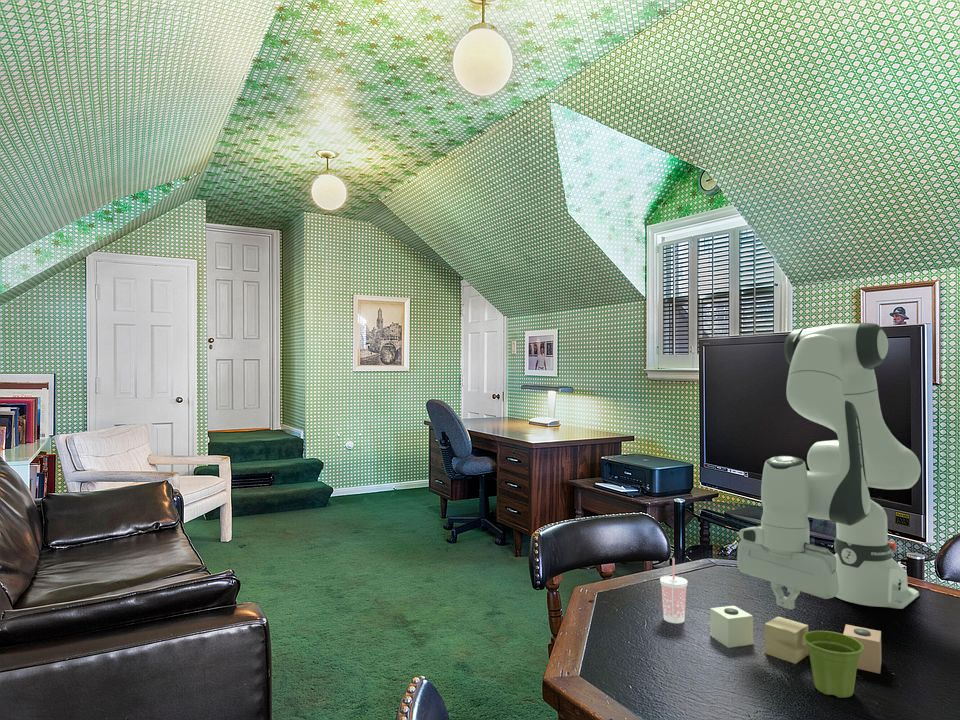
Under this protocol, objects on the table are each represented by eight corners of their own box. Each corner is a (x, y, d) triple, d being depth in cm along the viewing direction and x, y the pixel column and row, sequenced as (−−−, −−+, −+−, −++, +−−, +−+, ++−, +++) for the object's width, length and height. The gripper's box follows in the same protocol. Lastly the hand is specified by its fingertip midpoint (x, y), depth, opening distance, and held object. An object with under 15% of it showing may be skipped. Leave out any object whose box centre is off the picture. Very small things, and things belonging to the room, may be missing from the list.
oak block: (778, 645, 131) (778, 616, 131) (808, 655, 126) (808, 625, 126) (764, 653, 127) (764, 623, 127) (795, 664, 122) (795, 633, 122)
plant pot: (834, 707, 106) (833, 655, 107) (791, 681, 115) (791, 633, 116) (877, 699, 109) (876, 648, 109) (832, 674, 118) (832, 627, 118)
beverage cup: (689, 616, 146) (689, 556, 146) (686, 626, 140) (685, 563, 140) (662, 612, 148) (661, 553, 149) (658, 621, 143) (657, 560, 143)
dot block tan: (846, 654, 127) (845, 622, 127) (881, 662, 123) (881, 629, 123) (843, 665, 122) (843, 632, 122) (880, 674, 118) (879, 640, 118)
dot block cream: (734, 633, 137) (734, 604, 137) (753, 644, 131) (752, 614, 131) (710, 636, 135) (710, 606, 135) (728, 648, 129) (728, 617, 130)
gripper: (845, 548, 120) (846, 621, 119) (751, 525, 137) (751, 589, 137) (826, 552, 116) (826, 628, 116) (732, 529, 134) (732, 594, 134)
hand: (785, 606), depth 127 cm, fingers closed
